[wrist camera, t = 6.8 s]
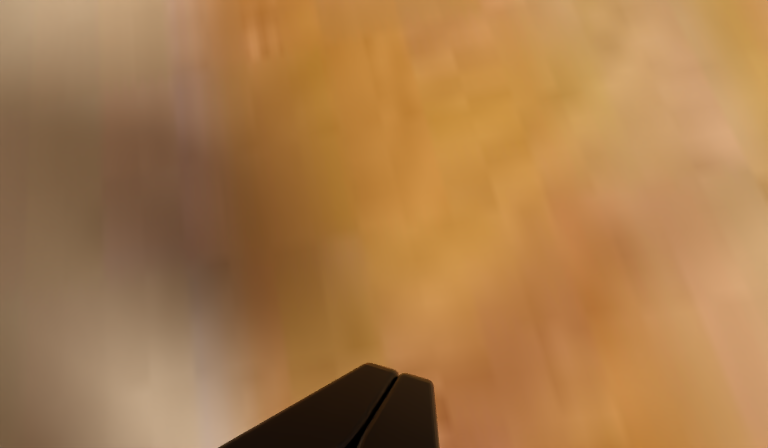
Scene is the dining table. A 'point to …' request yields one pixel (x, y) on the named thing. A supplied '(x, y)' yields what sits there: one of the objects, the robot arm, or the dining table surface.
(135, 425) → the dining table surface
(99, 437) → the dining table surface
